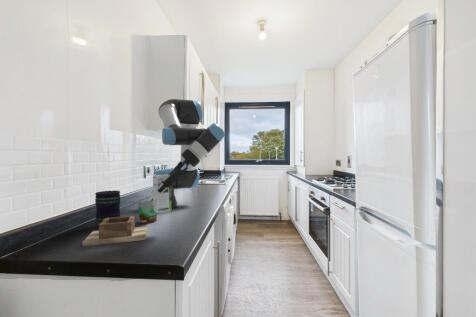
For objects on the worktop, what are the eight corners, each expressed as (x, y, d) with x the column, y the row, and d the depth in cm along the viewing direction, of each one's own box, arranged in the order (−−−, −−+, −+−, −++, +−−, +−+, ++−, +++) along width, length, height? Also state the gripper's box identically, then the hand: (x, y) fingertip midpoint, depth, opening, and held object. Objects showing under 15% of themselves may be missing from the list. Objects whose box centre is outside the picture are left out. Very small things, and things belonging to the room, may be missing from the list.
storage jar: (92, 226, 107) (91, 192, 107) (115, 221, 115) (115, 189, 115) (100, 230, 101) (99, 194, 101) (124, 225, 108) (123, 191, 108)
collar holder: (93, 234, 95) (92, 218, 95) (147, 229, 101) (147, 214, 101) (82, 246, 82) (82, 227, 82) (145, 239, 88) (145, 222, 88)
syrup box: (156, 213, 92) (156, 175, 92) (153, 210, 97) (152, 174, 97) (171, 211, 95) (171, 174, 95) (167, 208, 100) (167, 173, 100)
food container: (150, 225, 107) (149, 202, 107) (137, 224, 109) (137, 202, 108) (164, 218, 119) (163, 198, 119) (152, 218, 121) (152, 197, 121)
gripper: (204, 161, 91) (159, 208, 86) (197, 160, 110) (160, 198, 105) (190, 147, 89) (143, 193, 85) (185, 148, 108) (147, 186, 104)
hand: (152, 196), depth 95 cm, fingers closed on syrup box, 7 cm apart
